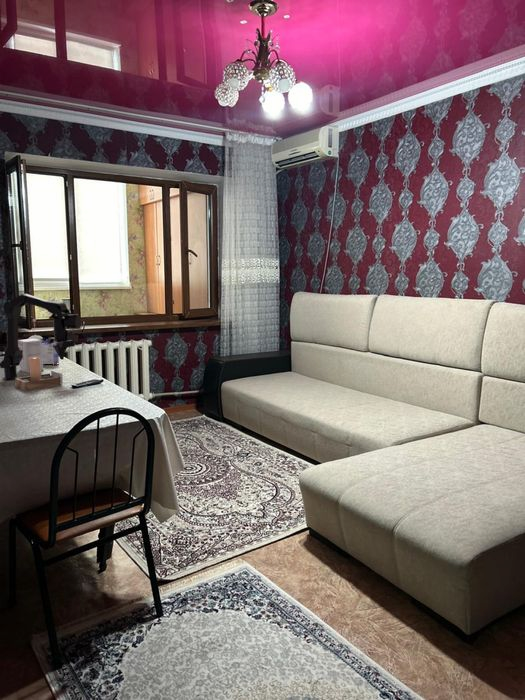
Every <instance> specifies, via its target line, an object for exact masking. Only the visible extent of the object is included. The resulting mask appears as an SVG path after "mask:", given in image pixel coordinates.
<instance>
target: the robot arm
mask: <svg viewBox="0 0 525 700" xmlns="http://www.w3.org/2000/svg"><path fill="white" fill-rule="evenodd" d="M27 304H29V305H32V306H35V307H39V308H42V309H45V310H46V311H47V312H49V314H51V315H50V316H48V319H49V320H52V324H53V329H52V333H53V336H54V337H48V340H47V344H51V343H54V345H52V346H53V347H54V349H55V350H56V352H57V354H58V356H59V359H60V360H61V361H63V360H64V358H65V354H66V350H67V349H68V348H71V347H75V346H76V342H78V338H79V335H77V334H73V332H72V331H69V330H68V329H77V330H78V329H80V328H81V327H82V319H81V318H80V316H79V313H78V314H72V313H71V311H70V310H69V308H68V307H67V305H66V303H65V302H63V301H55V300H48V299H45V298H41V297H38V296H35V295H31V294H29V293H21V294H20V295H18V296H16V297H14V298H13V299H11V300H6V301H5V302H4V303H2V305H3V306H2V308H3V313H4V316H5V317H6V320H7V321H6V325H7V327H6V328H7V332H6V333H7V334H6V336H7V337H6V338H7V347H6V349H5V351H4V355H3V359H2V360H1V361H0V369H3V375H4V376H2V377H1V378H2V379H3V380H6V381H12V380H15V378H20V377H19V376H18V372H17V366H20V361H21V360H22V358H23V350H20V349H19V347H18V340H19V318H20V315H21V314H22V308H23V307H24V306H26V305H27Z"/></svg>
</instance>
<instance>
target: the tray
mask: <svg viewBox="0 0 525 700" xmlns="http://www.w3.org/2000/svg"><path fill="white" fill-rule="evenodd" d="M55 377H60V380H61V384H64V382H63V373H62V372H60V371H57V370H54V369H53V370H52V369H51V370H50V376H44V377H41V379H48V378H55ZM23 381H26V382H28V381H31V378H30V379H23Z"/></svg>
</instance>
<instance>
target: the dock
mask: <svg viewBox="0 0 525 700" xmlns="http://www.w3.org/2000/svg"><path fill="white" fill-rule="evenodd" d="M50 375H51V372H50V373H49V372H48V373H41V377H44V376H50ZM23 379H30V375H28V376H21V377H20V378H15V379H14V383H15V385H14V386H15V388H18V389H21V390H22V389H23V390H22V391H24V392H27V390H28V391H33V389H35V390H40V389H39V388H41V389H46V387H47V388H51V386H53V387H59V386H61V380H60V377H55V378H48V379H42V380H35V381H28V382H26V381H23ZM58 385H59V386H58Z"/></svg>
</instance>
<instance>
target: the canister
mask: <svg viewBox="0 0 525 700" xmlns="http://www.w3.org/2000/svg"><path fill="white" fill-rule="evenodd" d="M29 365H30V372H29V376H30V378H31V381H35V380H42V379H41V374H42V370H41V366H40V357H30V358H29Z"/></svg>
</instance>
